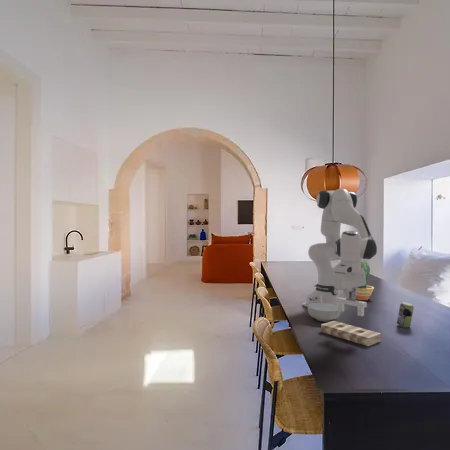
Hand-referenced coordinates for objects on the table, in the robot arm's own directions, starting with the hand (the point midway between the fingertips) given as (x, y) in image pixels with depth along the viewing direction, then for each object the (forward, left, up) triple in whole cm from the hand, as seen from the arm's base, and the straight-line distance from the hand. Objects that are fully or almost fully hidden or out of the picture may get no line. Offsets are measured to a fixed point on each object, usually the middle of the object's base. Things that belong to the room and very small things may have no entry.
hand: (350, 297), depth 160 cm
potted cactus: (-40, +75, -18) cm, 87 cm away
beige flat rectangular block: (0, 0, -18) cm, 18 cm away
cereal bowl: (-24, +13, -18) cm, 33 cm away
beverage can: (+8, +35, -18) cm, 40 cm away
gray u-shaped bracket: (0, 0, -7) cm, 7 cm away
